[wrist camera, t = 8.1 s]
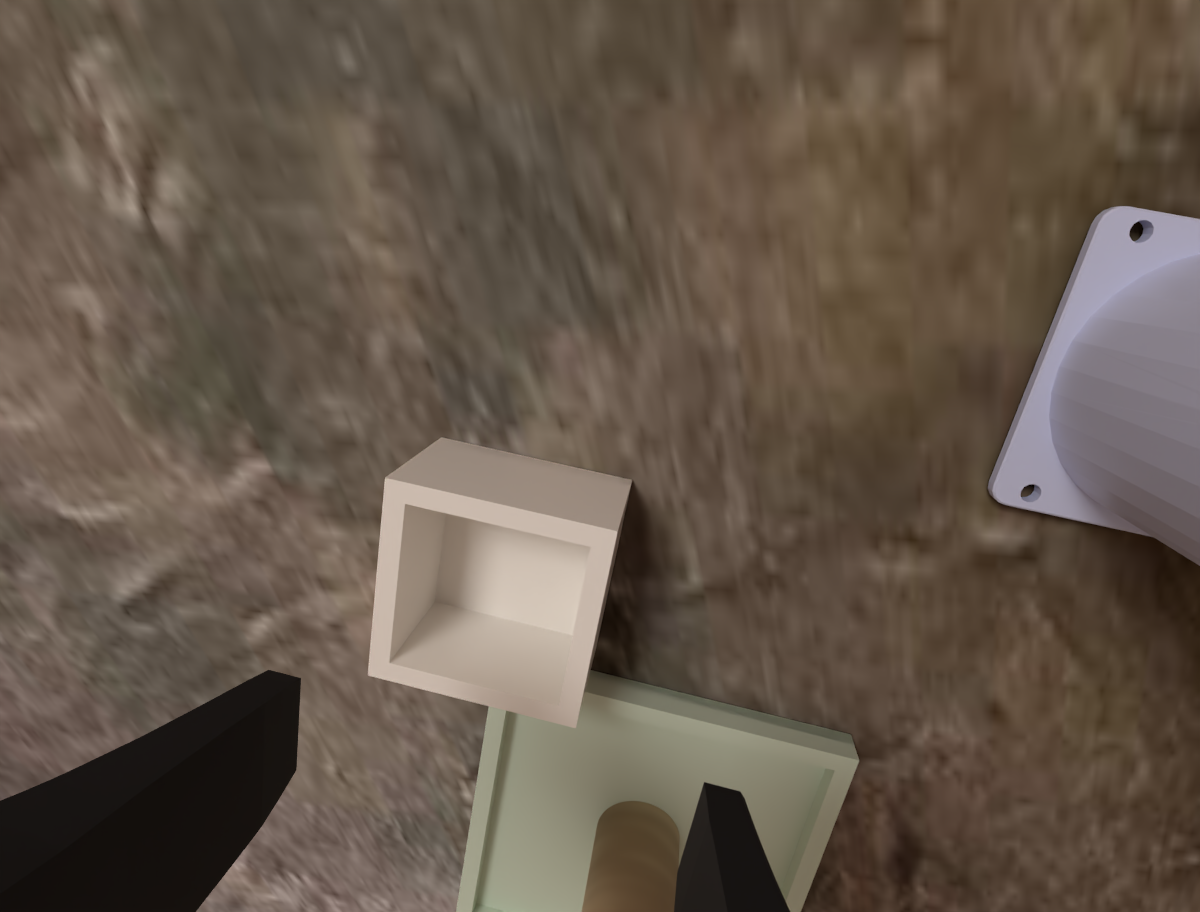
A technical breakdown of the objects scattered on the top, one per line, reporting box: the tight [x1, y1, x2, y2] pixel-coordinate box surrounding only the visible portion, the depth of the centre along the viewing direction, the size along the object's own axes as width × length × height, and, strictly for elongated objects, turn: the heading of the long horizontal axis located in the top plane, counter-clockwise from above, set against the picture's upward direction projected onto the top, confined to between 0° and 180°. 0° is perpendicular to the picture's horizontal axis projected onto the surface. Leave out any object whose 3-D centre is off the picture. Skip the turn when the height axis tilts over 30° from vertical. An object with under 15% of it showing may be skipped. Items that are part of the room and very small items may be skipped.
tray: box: [456, 670, 859, 912], centre depth 24 cm, size 12×12×1 cm
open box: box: [368, 437, 632, 728], centre depth 20 cm, size 6×6×4 cm
